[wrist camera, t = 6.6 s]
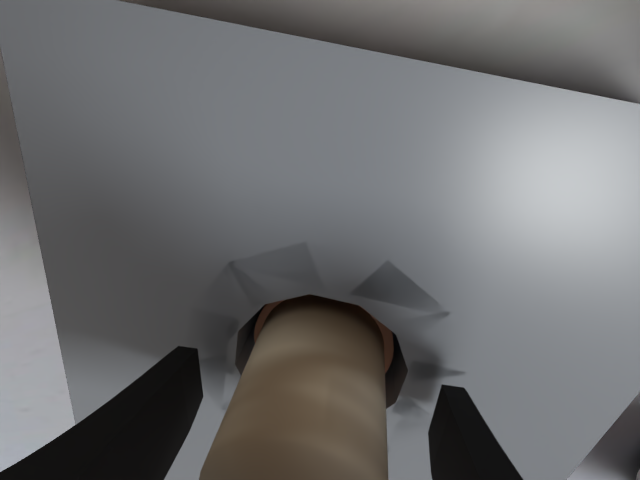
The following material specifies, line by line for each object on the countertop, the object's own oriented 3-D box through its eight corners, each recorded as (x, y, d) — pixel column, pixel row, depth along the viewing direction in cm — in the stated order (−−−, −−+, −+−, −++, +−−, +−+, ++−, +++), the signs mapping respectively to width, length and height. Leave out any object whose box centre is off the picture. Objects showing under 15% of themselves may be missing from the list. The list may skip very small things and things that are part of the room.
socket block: (651, 111, 12) (846, 144, 7) (461, 445, 20) (490, 571, 15) (137, 9, 13) (-15, -26, 8) (153, 370, 21) (83, 466, 16)
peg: (391, 301, 11) (403, 457, 7) (376, 396, 13) (377, 568, 9) (259, 285, 12) (188, 423, 7) (263, 380, 13) (208, 536, 9)
